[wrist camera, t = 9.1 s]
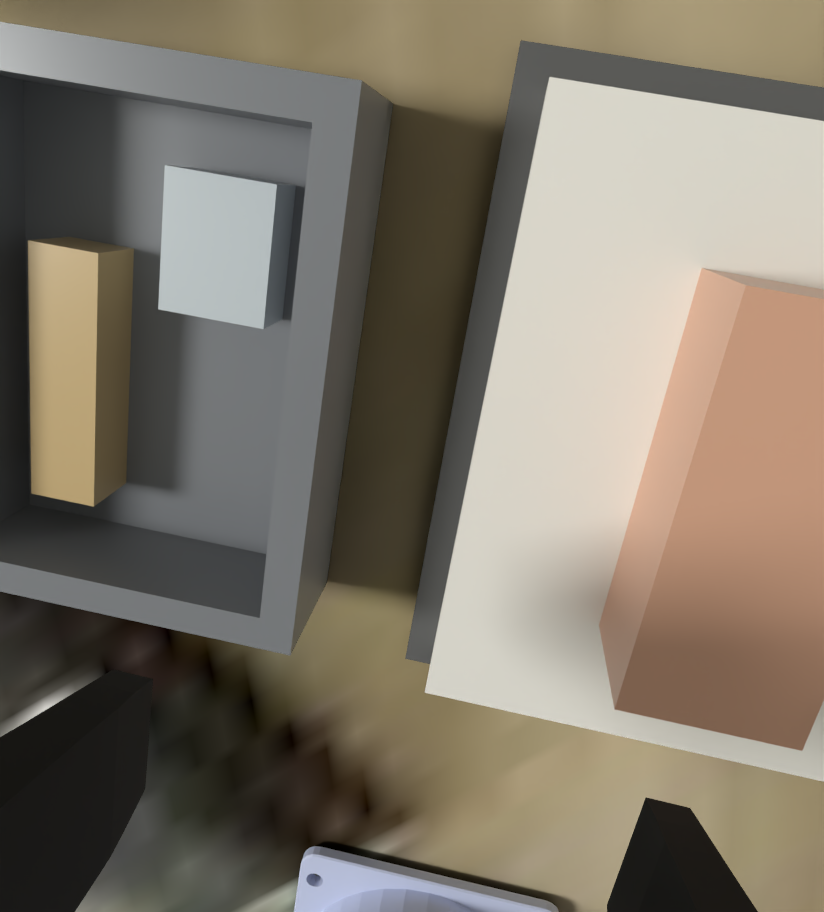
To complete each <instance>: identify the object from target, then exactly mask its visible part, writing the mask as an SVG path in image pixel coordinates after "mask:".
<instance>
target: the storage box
mask: <svg viewBox="0 0 824 912" xmlns="http://www.w3.org/2000/svg"><path fill="white" fill-rule="evenodd" d="M392 109H393V103H392V102H390V101H389V100H387V99H386V98H385V97H383V96H382V95H381V94H379V93H378V92H377V91H375V90H374V89H373V88H371V87H370V86H368V85H367V84H366V83H364V82H363V81H361V80H355V79H349V78H343V77H337V76H330V75H324V74H318V73H312V72H306V71H300V70H294V69H287V68H281V67H275V66H269V65H263V64H257V63H250V62H244V61H238V60H232V59H226V58H220V57H214V56H207V55H201V54H195V53H189V52H183V51H177V50H171V49H164V48H158V47H152V46H146V45H140V44H134V43H127V42H121V41H115V40H109V39H103V38H97V37H91V36H84V35H78V34H72V33H66V32H60V31H54V30H48V29H41V28H35V27H29V26H23V25H17V24H11V23H4V22H0V591H1V592H5V593H10V594H14V595H19V596H24V597H28V598H33V599H37V600H42V601H46V602H51V603H55V604H60V605H64V606H69V607H73V608H78V609H82V610H87V611H91V612H96V613H101V614H105V615H110V616H114V617H119V618H123V619H128V620H132V621H137V622H141V623H146V624H150V625H155V626H159V627H164V628H168V629H173V630H178V631H182V632H187V633H191V634H196V635H200V636H205V637H209V638H214V639H218V640H223V641H227V642H232V643H236V644H241V645H245V646H250V647H255V648H259V649H264V650H268V651H273V652H277V653H282V654H286V655H291V653H292V651H293V649H294V647H295V645H296V643H297V641H298V639H299V637H300V635H301V633H302V631H303V629H304V627H305V625H306V623H307V621H308V619H309V617H310V615H311V613H312V611H313V609H314V607H315V605H316V603H317V601H318V599H319V597H320V595H321V593H322V591H323V589H324V587H325V585H326V583H327V578H328V570H329V563H330V556H331V549H332V541H333V534H334V527H335V520H336V513H337V505H338V498H339V491H340V484H341V477H342V469H343V462H344V455H345V448H346V440H347V433H348V426H349V419H350V412H351V404H352V397H353V390H354V383H355V376H356V368H357V361H358V354H359V347H360V339H361V332H362V325H363V318H364V311H365V303H366V296H367V289H368V282H369V275H370V267H371V260H372V253H373V246H374V238H375V231H376V224H377V217H378V210H379V202H380V195H381V188H382V181H383V174H384V166H385V159H386V152H387V145H388V137H389V130H390V123H391V116H392Z"/></svg>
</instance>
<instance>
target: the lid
mask: <svg viewBox="0 0 824 912" xmlns="http://www.w3.org/2000/svg"><path fill="white" fill-rule="evenodd" d="M425 693H429V694H434V695H438V696H443V697H447V698H452V699H456V700H460V701H465V702H469V703H474V704H478V705H483V706H487V707H492V708H496V709H501V710H505V711H510V712H514V713H519V714H523V715H528V716H532V717H537V718H541V719H546V720H550V721H555V722H559V723H564V724H568V725H573V726H577V727H582V728H586V729H590V730H595V731H599V732H604V733H608V734H613V735H617V736H622V737H626V738H631V739H635V740H640V741H644V742H649V743H653V744H658V745H662V746H667V747H671V748H676V749H680V750H685V751H689V752H694V753H698V754H703V755H707V756H711V757H716V758H720V759H725V760H729V761H734V762H738V763H743V764H747V765H752V766H756V767H761V768H765V769H770V770H774V771H779V772H783V773H788V774H792V775H797V776H801V777H806V778H810V779H815V780H819V781H824V121H820V120H814V119H808V118H802V117H796V116H789V115H783V114H777V113H771V112H765V111H758V110H752V109H746V108H740V107H734V106H727V105H721V104H715V103H709V102H703V101H696V100H690V99H684V98H678V97H672V96H665V95H659V94H653V93H647V92H641V91H634V90H628V89H622V88H616V87H610V86H603V85H597V84H591V83H585V82H579V81H572V80H566V79H560V78H554V77H549V81H548V85H547V89H546V94H545V99H544V104H543V109H542V114H541V119H540V124H539V128H538V133H537V138H536V143H535V148H534V153H533V158H532V163H531V168H530V173H529V178H528V183H527V188H526V193H525V198H524V202H523V207H522V212H521V217H520V222H519V227H518V232H517V237H516V242H515V247H514V252H513V257H512V262H511V267H510V272H509V277H508V281H507V286H506V291H505V296H504V301H503V306H502V311H501V316H500V321H499V326H498V331H497V336H496V341H495V346H494V351H493V355H492V360H491V365H490V370H489V375H488V380H487V385H486V390H485V395H484V400H483V405H482V410H481V415H480V420H479V425H478V430H477V434H476V439H475V444H474V449H473V454H472V459H471V464H470V469H469V474H468V479H467V484H466V489H465V494H464V499H463V504H462V509H461V513H460V518H459V523H458V528H457V533H456V538H455V543H454V548H453V553H452V558H451V563H450V568H449V573H448V578H447V583H446V587H445V592H444V597H443V602H442V607H441V612H440V617H439V622H438V627H437V632H436V637H435V642H434V647H433V652H432V657H431V662H430V668H429V673H428V678H427V683H426V689H425Z"/></svg>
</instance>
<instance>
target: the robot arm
mask: <svg viewBox="0 0 824 912" xmlns="http://www.w3.org/2000/svg"><path fill="white" fill-rule="evenodd" d="M152 686H153V679H151V678H147V677H142V676H138V675H134V674H130V673H126V672H122V671H117V670H112V671H110V672H108V673H107V674H105V675H103V676H102V677H100V678H98V679H97V680H95V681H93V682H92V683H90V684H88V685H87V686H85V687H83V688H82V689H80V690H78V691H77V692H75V693H73V694H72V695H70V696H68V697H67V698H65V699H63V700H62V701H60V702H59V703H57V704H55V705H54V706H52V707H50V708H49V709H47V710H45V711H44V712H42V713H40V714H39V715H37V716H35V717H34V718H32V719H30V720H29V721H27V722H26V723H24V724H22V725H20V726H19V727H17V728H15V729H14V730H12V731H10V732H8V733H7V734H5V735H3V736H2V737H0V912H75V910H76V909H77V907H78V906H79V904H80V903H81V901H82V900H83V898H84V897H85V895H86V894H87V892H88V891H89V889H90V888H91V886H92V884H93V883H94V881H95V880H96V878H97V877H98V875H99V874H100V872H101V871H102V869H103V868H104V866H105V864H106V863H107V861H108V860H109V858H110V857H111V855H112V853H113V851H114V849H115V847H116V845H117V843H118V841H119V840H120V838H121V836H122V834H123V832H124V830H125V828H126V826H127V824H128V822H129V820H130V818H131V816H132V814H133V812H134V810H135V808H136V806H137V804H138V802H139V800H140V798H141V796H142V794H143V792H144V790H145V783H146V769H147V755H148V741H149V727H150V713H151V700H152ZM314 874H317V875H319V876H316V875H314ZM294 912H559V911H558V909H557V907H556V906H555V905H554V904H553V903H551V902H549V901H546V900H542V899H538V898H534V897H530V896H526V895H521V894H517V893H513V892H509V891H505V890H501V889H496V888H492V887H488V886H484V885H480V884H475V883H471V882H467V881H463V880H459V879H455V878H450V877H446V876H442V875H438V874H434V873H429V872H425V871H421V870H417V869H413V868H409V867H404V866H400V865H396V864H392V863H388V862H383V861H379V860H375V859H371V858H367V857H362V856H358V855H354V854H350V853H346V852H342V851H337V850H333V849H329V848H325V847H319V846H314V847H310V848H308V849H307V850H306V851H305V853H304V856H303V859H302V862H301V867H300V874H299V881H298V887H297V894H296V901H295V908H294ZM607 912H758V911H757V910H756V908H755V907H754V905H753V904H752V902H751V901H750V899H749V898H748V896H747V895H746V893H745V892H744V890H743V889H742V887H741V886H740V884H739V883H738V881H737V880H736V878H735V877H734V875H733V873H732V872H731V870H730V869H729V867H728V866H727V864H726V863H725V861H724V860H723V858H722V857H721V855H720V853H719V852H718V850H717V849H716V847H715V846H714V844H713V843H712V841H711V839H710V838H709V836H708V835H707V833H706V832H705V830H704V829H703V827H702V826H701V824H700V823H699V821H698V819H697V818H696V816H695V815H694V813H693V812H692V810H691V809H690V808H687V807H683V806H679V805H675V804H671V803H667V802H662V801H658V800H654V799H650V798H646V799H645V801H644V804H643V807H642V810H641V813H640V815H639V818H638V821H637V824H636V826H635V829H634V832H633V835H632V837H631V840H630V843H629V846H628V849H627V851H626V854H625V857H624V860H623V862H622V865H621V868H620V871H619V873H618V876H617V879H616V882H615V885H614V887H613V890H612V893H611V896H610V898H609V901H608V904H607Z"/></svg>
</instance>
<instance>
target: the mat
mask: <svg viewBox="0 0 824 912" xmlns="http://www.w3.org/2000/svg"><path fill="white" fill-rule="evenodd" d="M549 77H554V78H560V79H566V80H572V81H579V82H585V83H591V84H597V85H603V86H610V87H616V88H622V89H628V90H634V91H641V92H647V93H653V94H659V95H665V96H672V97H678V98H684V99H690V100H696V101H703V102H709V103H715V104H721V105H727V106H734V107H740V108H746V109H752V110H758V111H765V112H771V113H777V114H783V115H789V116H796V117H802V118H808V119H814V120H820V121H824V88H822V87H816V86H809V85H803V84H797V83H790V82H784V81H777V80H771V79H765V78H758V77H752V76H745V75H739V74H733V73H726V72H720V71H713V70H707V69H701V68H694V67H688V66H681V65H675V64H669V63H662V62H656V61H649V60H643V59H637V58H630V57H624V56H617V55H611V54H605V53H598V52H592V51H585V50H579V49H573V48H566V47H560V46H553V45H547V44H541V43H534V42H528V41H521V42H520V47H519V53H518V58H517V63H516V69H515V74H514V79H513V85H512V90H511V96H510V101H509V106H508V112H507V117H506V122H505V128H504V133H503V138H502V144H501V149H500V155H499V160H498V165H497V171H496V176H495V181H494V187H493V192H492V197H491V203H490V208H489V213H488V219H487V224H486V230H485V235H484V240H483V246H482V251H481V256H480V262H479V267H478V272H477V278H476V283H475V289H474V294H473V299H472V305H471V310H470V315H469V321H468V326H467V331H466V337H465V342H464V347H463V353H462V358H461V364H460V369H459V374H458V380H457V385H456V390H455V396H454V401H453V406H452V412H451V417H450V423H449V428H448V433H447V439H446V444H445V449H444V455H443V460H442V465H441V471H440V476H439V481H438V487H437V492H436V498H435V503H434V508H433V514H432V519H431V524H430V530H429V535H428V540H427V546H426V551H425V557H424V562H423V567H422V573H421V578H420V583H419V589H418V594H417V599H416V605H415V610H414V615H413V621H412V626H411V632H410V637H409V642H408V648H407V653H406V658H405V659H410V660H414V661H419V662H424V663H428V664H430V662H431V657H432V652H433V647H434V642H435V637H436V632H437V627H438V622H439V617H440V612H441V607H442V602H443V597H444V592H445V587H446V583H447V578H448V573H449V568H450V563H451V558H452V553H453V548H454V543H455V538H456V533H457V528H458V523H459V518H460V513H461V509H462V504H463V499H464V494H465V489H466V484H467V479H468V474H469V469H470V464H471V459H472V454H473V449H474V444H475V439H476V434H477V430H478V425H479V420H480V415H481V410H482V405H483V400H484V395H485V390H486V385H487V380H488V375H489V370H490V365H491V360H492V355H493V351H494V346H495V341H496V336H497V331H498V326H499V321H500V316H501V311H502V306H503V301H504V296H505V291H506V286H507V281H508V277H509V272H510V267H511V262H512V257H513V252H514V247H515V242H516V237H517V232H518V227H519V222H520V217H521V212H522V207H523V202H524V198H525V193H526V188H527V183H528V178H529V173H530V168H531V163H532V158H533V153H534V148H535V143H536V138H537V133H538V128H539V124H540V119H541V114H542V109H543V104H544V99H545V94H546V89H547V85H548V81H549Z"/></svg>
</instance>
